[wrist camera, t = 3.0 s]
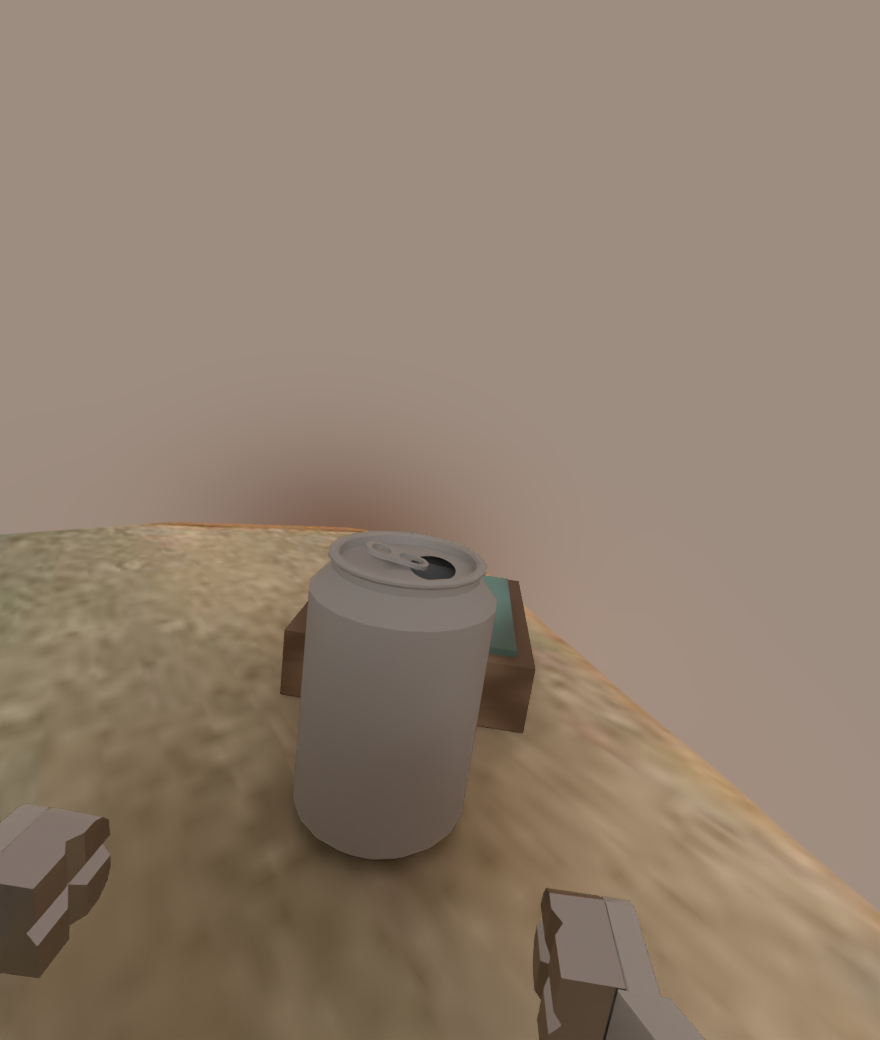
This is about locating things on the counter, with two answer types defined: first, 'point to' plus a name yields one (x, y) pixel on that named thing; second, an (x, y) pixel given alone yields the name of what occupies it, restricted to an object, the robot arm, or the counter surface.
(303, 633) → the plinth
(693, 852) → the counter surface
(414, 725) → the can
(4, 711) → the counter surface
